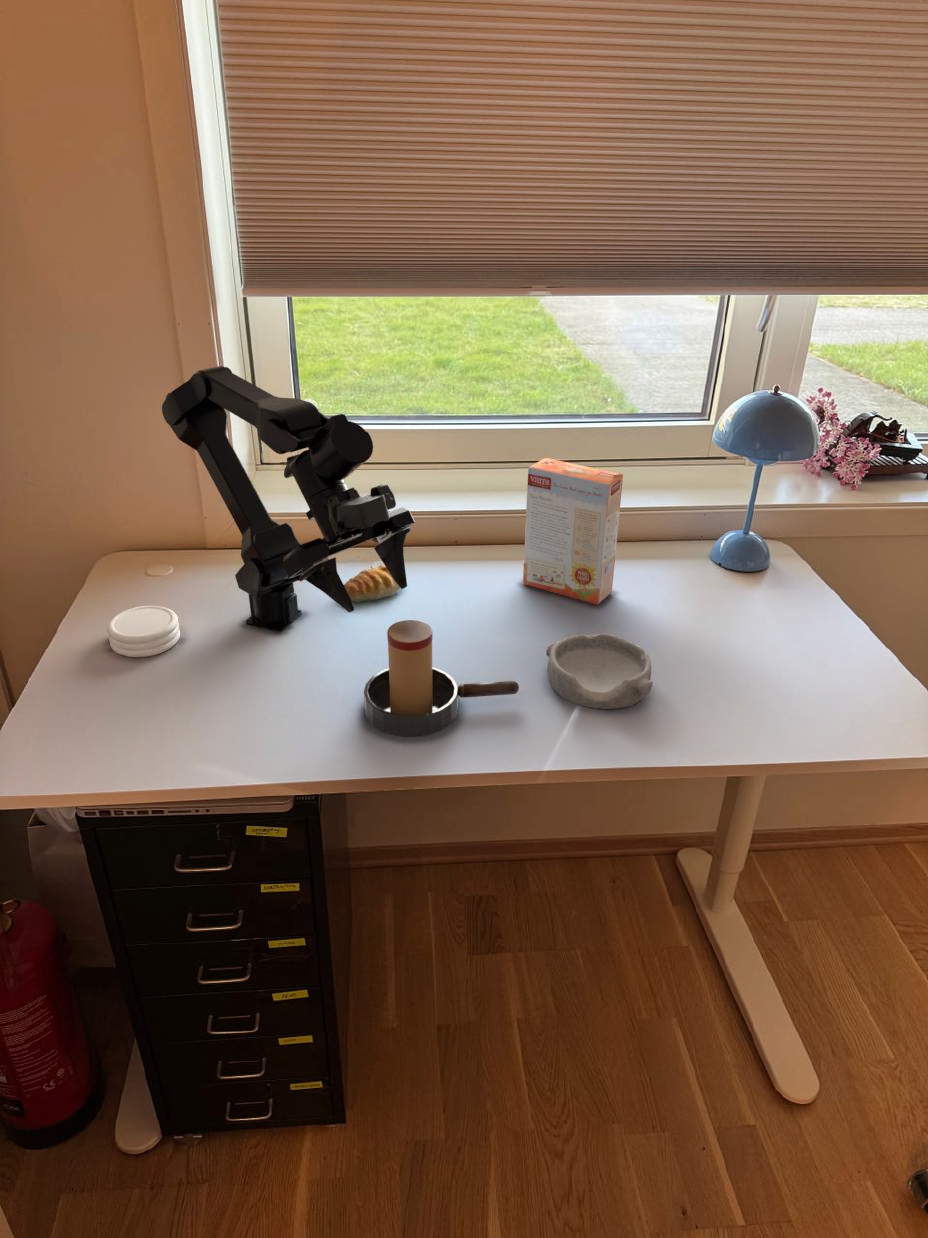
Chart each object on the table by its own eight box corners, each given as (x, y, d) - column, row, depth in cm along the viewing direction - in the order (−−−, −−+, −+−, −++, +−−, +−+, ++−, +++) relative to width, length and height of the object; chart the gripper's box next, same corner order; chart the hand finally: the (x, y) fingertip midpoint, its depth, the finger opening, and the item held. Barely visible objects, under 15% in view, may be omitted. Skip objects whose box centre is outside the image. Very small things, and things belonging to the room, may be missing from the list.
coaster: (132, 621, 143) (128, 601, 142) (192, 628, 142) (189, 608, 140) (97, 654, 135) (92, 633, 133) (160, 662, 133) (157, 641, 131)
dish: (661, 710, 124) (666, 679, 122) (561, 719, 122) (563, 687, 120) (627, 653, 137) (631, 624, 134) (536, 660, 135) (537, 631, 132)
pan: (349, 726, 120) (347, 703, 119) (390, 678, 130) (389, 657, 128) (435, 749, 117) (435, 726, 115) (471, 698, 126) (471, 676, 125)
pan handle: (457, 701, 122) (457, 689, 122) (455, 693, 124) (455, 682, 123) (519, 696, 123) (520, 685, 123) (517, 688, 125) (517, 677, 124)
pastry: (355, 609, 147) (354, 588, 145) (332, 594, 152) (331, 573, 150) (403, 592, 152) (403, 571, 151) (380, 578, 157) (379, 557, 155)
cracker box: (613, 592, 153) (625, 472, 143) (597, 607, 149) (609, 484, 138) (538, 571, 160) (545, 454, 149) (521, 584, 155) (526, 466, 145)
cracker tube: (382, 715, 122) (379, 637, 116) (401, 693, 126) (399, 616, 120) (422, 725, 120) (421, 646, 114) (439, 702, 125) (439, 625, 119)
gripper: (295, 488, 110) (353, 606, 111) (409, 451, 122) (462, 557, 122) (258, 521, 119) (312, 631, 119) (368, 484, 131) (417, 583, 131)
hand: (378, 599), depth 123 cm, fingers open, 9 cm apart
